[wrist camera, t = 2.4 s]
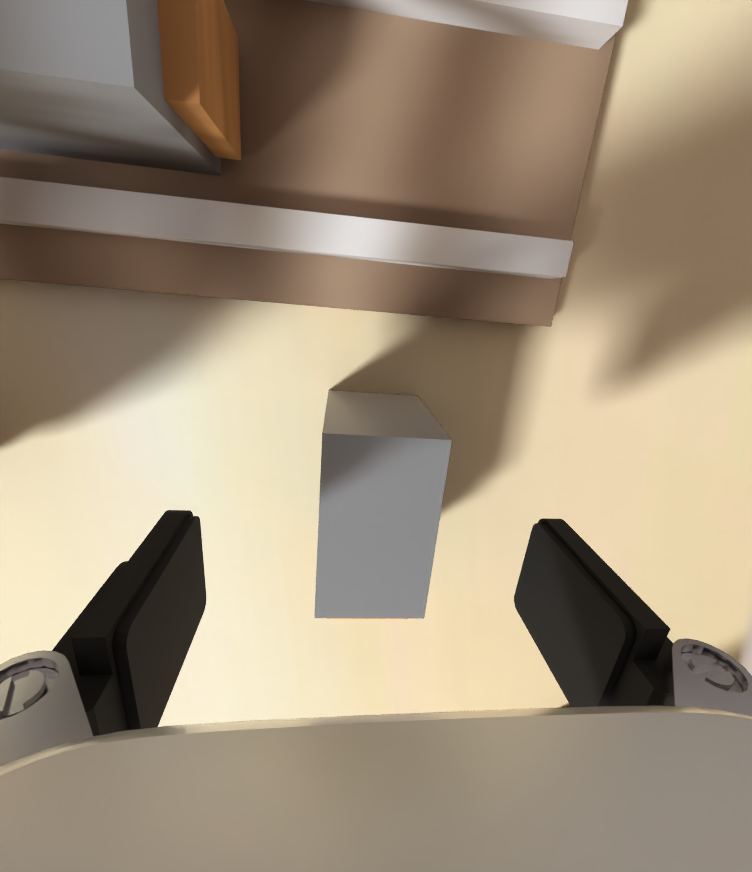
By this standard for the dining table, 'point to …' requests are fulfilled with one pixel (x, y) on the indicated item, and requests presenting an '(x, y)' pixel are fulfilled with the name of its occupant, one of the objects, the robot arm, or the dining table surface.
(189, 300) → the dining table surface
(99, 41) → the rail mount
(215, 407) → the dining table surface
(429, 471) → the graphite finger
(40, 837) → the robot arm
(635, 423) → the dining table surface
